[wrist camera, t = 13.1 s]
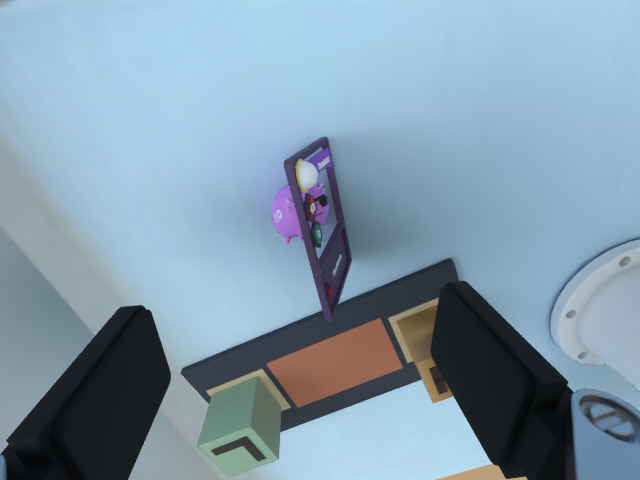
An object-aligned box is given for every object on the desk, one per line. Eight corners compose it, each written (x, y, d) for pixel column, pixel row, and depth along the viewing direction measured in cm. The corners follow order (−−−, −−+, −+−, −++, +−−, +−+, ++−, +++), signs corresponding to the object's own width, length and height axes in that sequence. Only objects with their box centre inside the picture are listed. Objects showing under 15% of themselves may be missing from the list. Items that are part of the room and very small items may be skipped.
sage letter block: (257, 375, 25) (250, 428, 21) (281, 406, 27) (279, 460, 23) (212, 393, 26) (195, 448, 22) (238, 423, 28) (228, 479, 23)
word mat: (450, 257, 23) (454, 261, 22) (478, 353, 27) (481, 358, 27) (182, 368, 25) (179, 374, 25) (247, 439, 30) (246, 446, 29)
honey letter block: (448, 299, 24) (481, 340, 19) (460, 338, 25) (493, 383, 21) (395, 320, 24) (416, 365, 20) (411, 357, 26) (433, 405, 22)
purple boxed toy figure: (345, 322, 16) (306, 157, 12) (261, 321, 18) (205, 176, 14) (361, 259, 22) (338, 133, 18) (297, 263, 24) (264, 149, 20)
